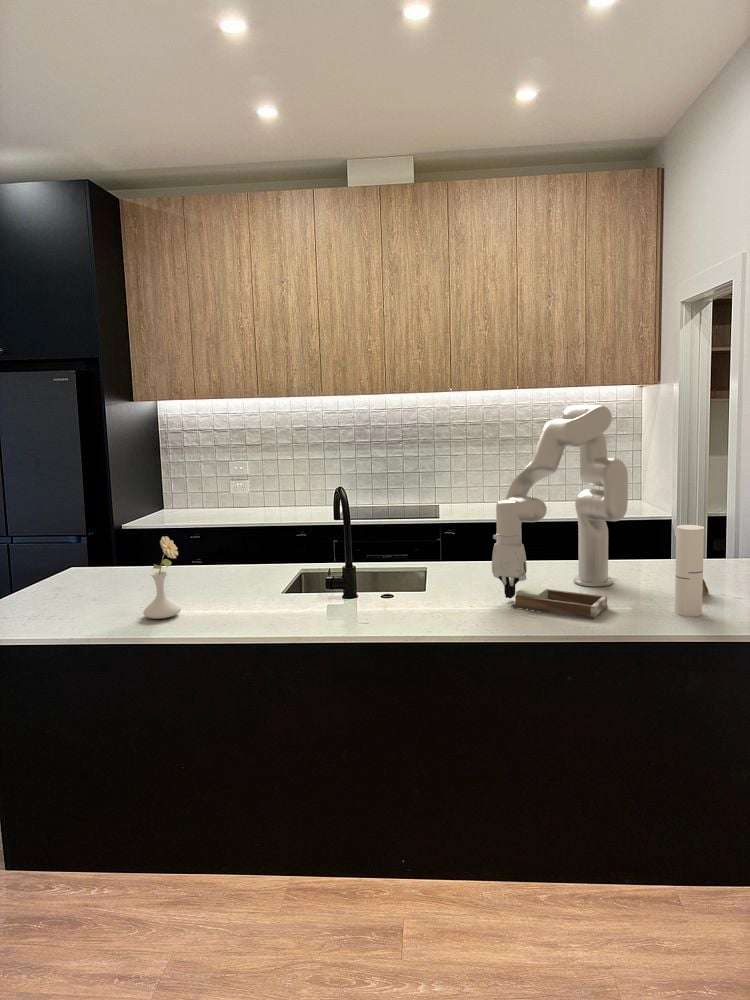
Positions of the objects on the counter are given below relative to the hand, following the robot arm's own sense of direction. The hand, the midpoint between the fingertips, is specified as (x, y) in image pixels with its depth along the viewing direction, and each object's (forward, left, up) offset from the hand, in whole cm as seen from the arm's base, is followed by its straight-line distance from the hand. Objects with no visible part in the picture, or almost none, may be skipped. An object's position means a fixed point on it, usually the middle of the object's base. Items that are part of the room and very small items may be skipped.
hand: (509, 596), depth 224 cm
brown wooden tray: (0, +16, -1) cm, 16 cm away
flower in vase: (+62, -89, -2) cm, 109 cm away
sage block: (0, +7, -1) cm, 8 cm away
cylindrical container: (-12, +50, -2) cm, 51 cm away
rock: (-30, +48, -2) cm, 57 cm away
